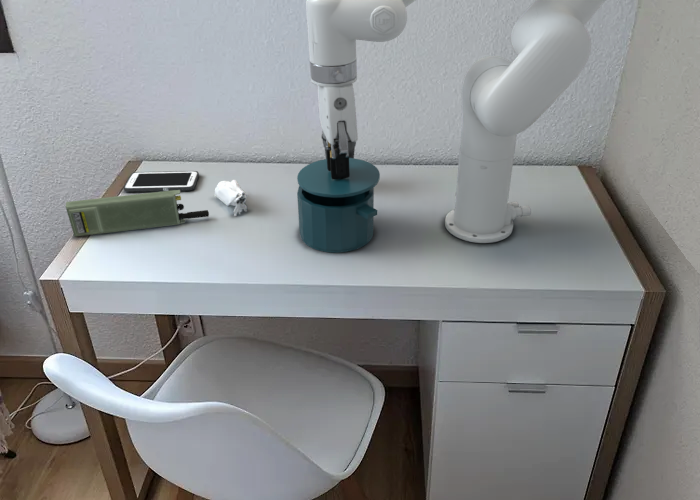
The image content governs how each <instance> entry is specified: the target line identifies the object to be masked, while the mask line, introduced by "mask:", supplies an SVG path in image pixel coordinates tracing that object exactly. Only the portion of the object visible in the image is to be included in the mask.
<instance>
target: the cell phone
mask: <svg viewBox="0 0 700 500" xmlns="http://www.w3.org/2000/svg"><path fill="white" fill-rule="evenodd" d="M199 176H200V174H199V171H197V170H175V171H174V170H173V171H170V170H169V171H136V172H135V171H134V172H131V173H130V175H129V177H128V178H127V180H126V182H125V183H124V185H123V191H124V192H127V193H129V192H133V193H135V192H136V193H137V192H162V191H172V190H180V192H181V191H192V190H194V189H195V188H196V184H197V182H198V180H199V178H200V177H199Z"/></svg>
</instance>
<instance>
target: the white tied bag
mask: <svg viewBox="0 0 700 500" xmlns="http://www.w3.org/2000/svg"><path fill="white" fill-rule="evenodd" d="M213 197H215V198H217V199H219V200H220V202H222V203H223V204H224V205H226V206H227V207H228V206H233V207H234V210H233V214H234V215H233V216H234V217H237V216H238V215H241V213H242V212H243V210H244V212H245V213H247V212H248V210H247V209H248V207H247V205H246V204H245V203H246V200H247V198H248V194H247V193H246V192H245V191H244V190H243V189H242V187H241V186H240V184H239V182H238V181H237V180H236V179H232V180H231V181H229V180H221V181H219V182H218V183H217V185H216V186H215V188H214V195H213ZM237 214H238V215H237Z"/></svg>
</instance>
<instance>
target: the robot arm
mask: <svg viewBox="0 0 700 500" xmlns="http://www.w3.org/2000/svg"><path fill="white" fill-rule="evenodd" d="M606 1H607V0H534V1H532V3H531V4H530V5H529V7H528V8H526V10H525V11H524V12H523V13H522V14H521V15H520V16H519V18H518V19H517V20H516V22H515V23H514V25H513V27H512V29H511V33H510V44H511V47H512V49H513V51H514V53H515V54H516V55H517V56H516V57H515V59H514V60H513V61H511V60H509V59H507V58H505V57H503V56H499V55H486V56H483V57H481V58H479V59H477V60H475V61H474V62H473V63H472V64H471V65H470V66H469V68H468V69H467V71H466V72H465V74H464V77H463V79H462V84H461V92H460V93H461V95H460V96H461V97H460V98H461V99H460V101H461V105H460V106H461V125H460V126H461V127H460V143H459V151H458V164H457V176H456V185H455V186H456V187H455V199H454V200H455V201H454V209H452V210H450V211H449V212H448V213H447V214H446V216H445V218H444V226H445V228H446V230H447V232H449V233H450V234H451V235H453V236H454V237H455V238H458V239H459V240H463V241H465V242H469V243H476V244H492V243H497V242H500V241H503V240H505V239H507V238H508V237H510V235H511V234H512V232H513V229H514V222H513V220H515V219H516V218H519V217H521V218H522V217H530V216H531V215H532V208H531V206H530V205H522V206H520V204H519V201H510V202H509V197H510V196H509V194H510V188H511V182H512V175H513V167H514V160H515V153H516V145H517V137H518V136H517V135H519V134H520V133H523V132H524V131H526V130H527V129H529V128H530V127H531V126H532V125H533V124H535V122H536V121H538V119H539V118H541V116H542V115H544V113H545V112H546V111H547V110H548V109H549V108H550V107H551V106H552V105H553V104H554V103H555V102H556V100H558V99H559V97H560V96H561V95H563V93H564V92H565V91H566V90H567V89H568V88H569V87H570V86H571V85H572V84H573V82H574V81H575V80H576V79H577V78H578V77H579V76H580V74H581V73H582V72H583V70H584V68H585V67H586V65H587V63H588V60H589V59H590V55H591V50H592V39H591V35H590V32H589V30H588V29H587V27H586V25H587V24H588V23H589V21H590V20H591V19H592V18H593V17H594V15H595V14H596V13H597V12H598V11H599V10H600V8H601V7H602V5H603V4H604V3H605V2H606ZM414 2H416V0H305V14H306V23H307V24H306V27H307V41H308V43H307V44H308V59H309V69H310V70H309V71H310V72H309V73H310V83H312V84H313V85H315V86H316V87H317V102H318V104H317V105H318V116H319V123H320V128H321V130H322V131H323V132H324V134H325V136H326V145H327V150H326V153H327V169H328V171H331V178H332V179H341V178H348V177H349V176H350V172H349V153H348V136H349V138H350V140H351V141H352V142H354V143H355V142H356V143H357V142H358V139H359V136H358V134H359V133H358V123H357V122H358V121H357V107H356V97H355V91H354V85H353V84H354V83H355V82H357V80H358V68H357V67H358V66H357V65H358V64H357V41H365V42H373V43H374V42H375V43H384V42H390V41H392V40H394V39H396V38H398V37H399V36H400V35H401V34H402V33H403V31H404V30H405V28H406V25H407V22H408V12H407V11H408V10H407V7H408V6H410V5H411V4H413V3H414ZM329 148H330V149H329ZM335 149H336V150H335ZM330 151H331V153H332V157H330Z"/></svg>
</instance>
